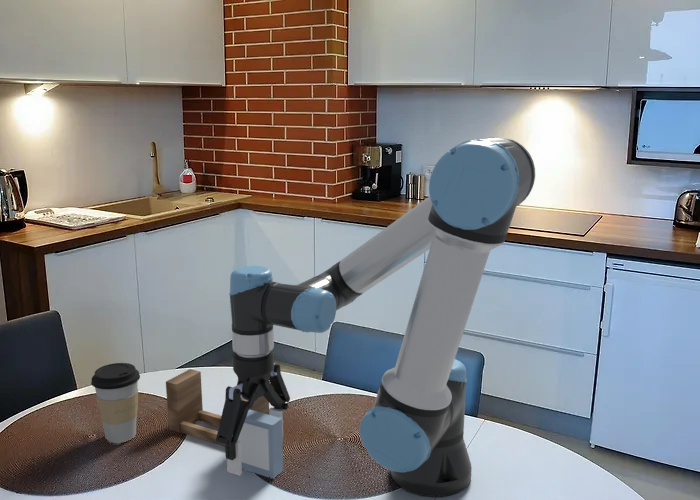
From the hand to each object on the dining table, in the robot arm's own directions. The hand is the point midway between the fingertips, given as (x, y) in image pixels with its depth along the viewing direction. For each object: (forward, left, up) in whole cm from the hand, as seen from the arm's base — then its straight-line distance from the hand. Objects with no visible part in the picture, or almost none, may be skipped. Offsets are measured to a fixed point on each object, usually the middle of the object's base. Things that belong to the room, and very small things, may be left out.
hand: (256, 455), depth 123 cm
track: (+15, -7, -3) cm, 17 cm away
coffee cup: (+32, +4, -3) cm, 32 cm away
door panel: (0, 0, -3) cm, 3 cm away
